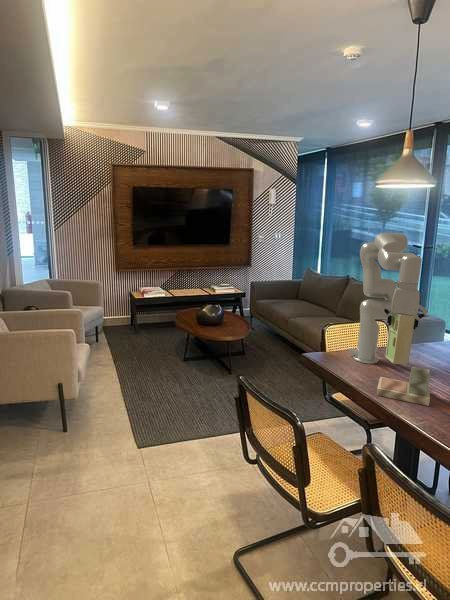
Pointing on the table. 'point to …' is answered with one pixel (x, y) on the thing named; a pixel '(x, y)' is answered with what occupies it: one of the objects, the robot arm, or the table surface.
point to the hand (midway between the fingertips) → (401, 326)
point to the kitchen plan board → (407, 387)
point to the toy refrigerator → (400, 338)
